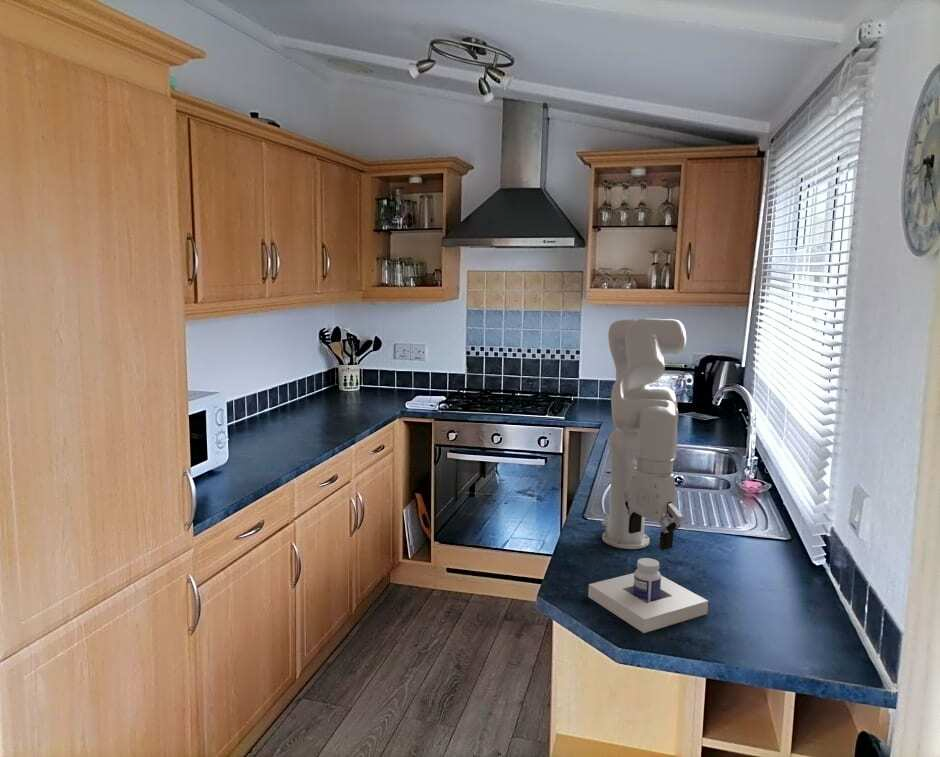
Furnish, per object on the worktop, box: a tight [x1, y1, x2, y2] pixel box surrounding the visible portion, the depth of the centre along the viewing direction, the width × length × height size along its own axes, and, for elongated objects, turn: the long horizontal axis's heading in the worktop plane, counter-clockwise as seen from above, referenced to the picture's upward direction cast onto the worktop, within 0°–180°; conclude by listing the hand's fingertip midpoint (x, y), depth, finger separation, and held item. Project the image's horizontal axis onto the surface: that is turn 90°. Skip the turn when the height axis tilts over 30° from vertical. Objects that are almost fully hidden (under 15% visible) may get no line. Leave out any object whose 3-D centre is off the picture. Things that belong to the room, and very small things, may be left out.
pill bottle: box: [633, 557, 662, 603], centre depth 155 cm, size 6×6×10 cm
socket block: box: [587, 572, 709, 634], centre depth 155 cm, size 18×18×3 cm
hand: (649, 540), depth 154 cm, fingers open, 9 cm apart
